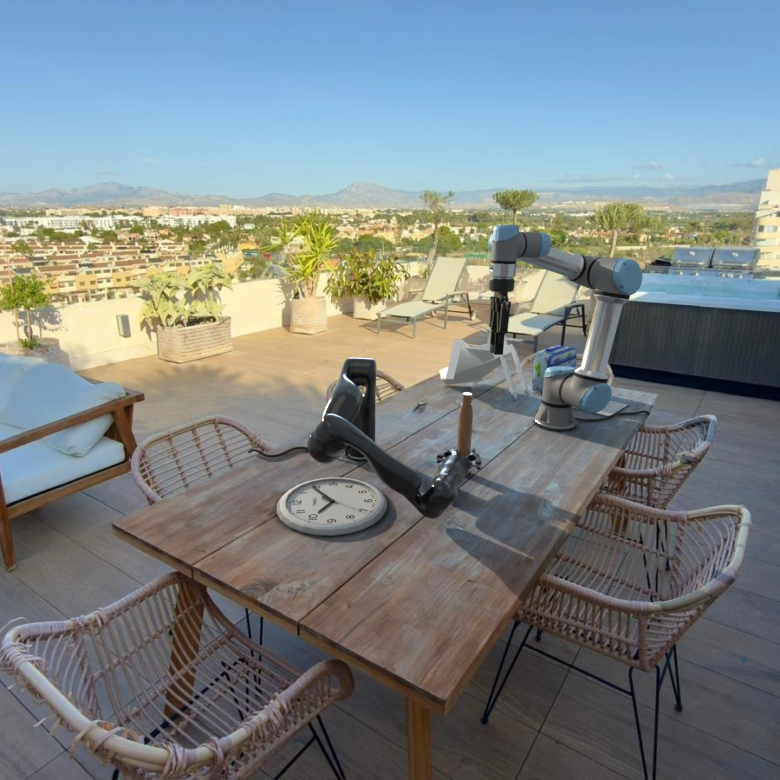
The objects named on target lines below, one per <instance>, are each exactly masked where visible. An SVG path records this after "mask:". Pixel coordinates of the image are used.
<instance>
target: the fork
mask: <svg viewBox="0 0 780 780" xmlns="http://www.w3.org/2000/svg"><path fill="white" fill-rule="evenodd" d="M427 399H428V397H424V396H422V397H421V398H420V400H419V402H418V403H419V404H417V405H416V406H415V408H413V412H415V411H416V410H419V408H420V406H421V405H425V404H426V403H427Z"/></svg>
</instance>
